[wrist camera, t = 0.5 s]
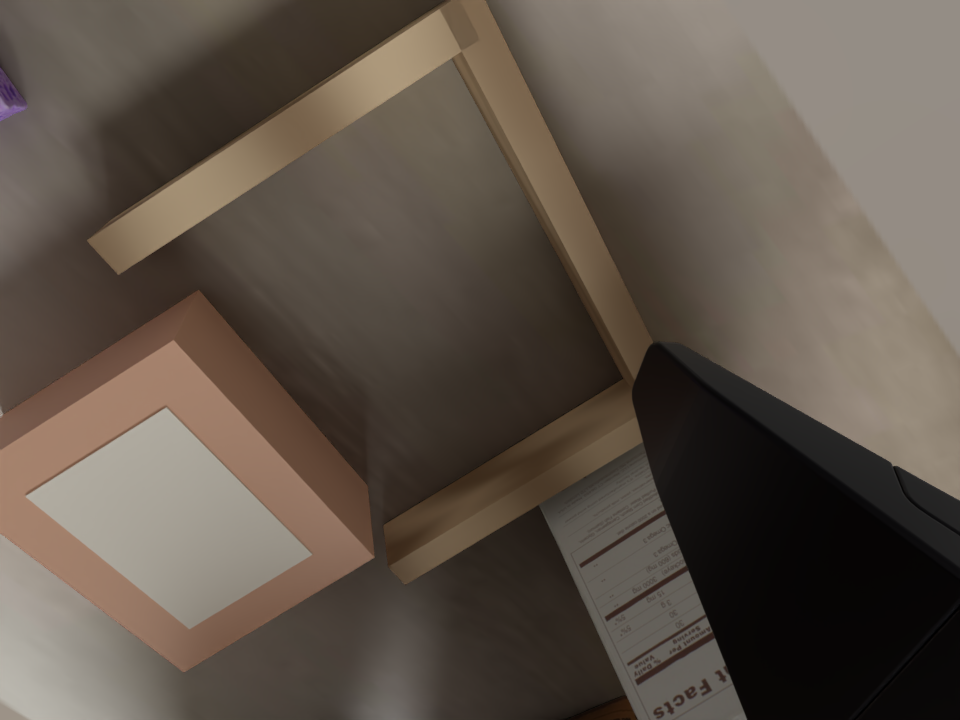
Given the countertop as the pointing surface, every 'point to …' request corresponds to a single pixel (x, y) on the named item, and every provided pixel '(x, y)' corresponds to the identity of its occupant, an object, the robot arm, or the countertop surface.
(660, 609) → the supplement box
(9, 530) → the carton
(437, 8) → the u-shaped wooden frame
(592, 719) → the pancake mix bag
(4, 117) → the sponges
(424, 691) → the countertop surface
